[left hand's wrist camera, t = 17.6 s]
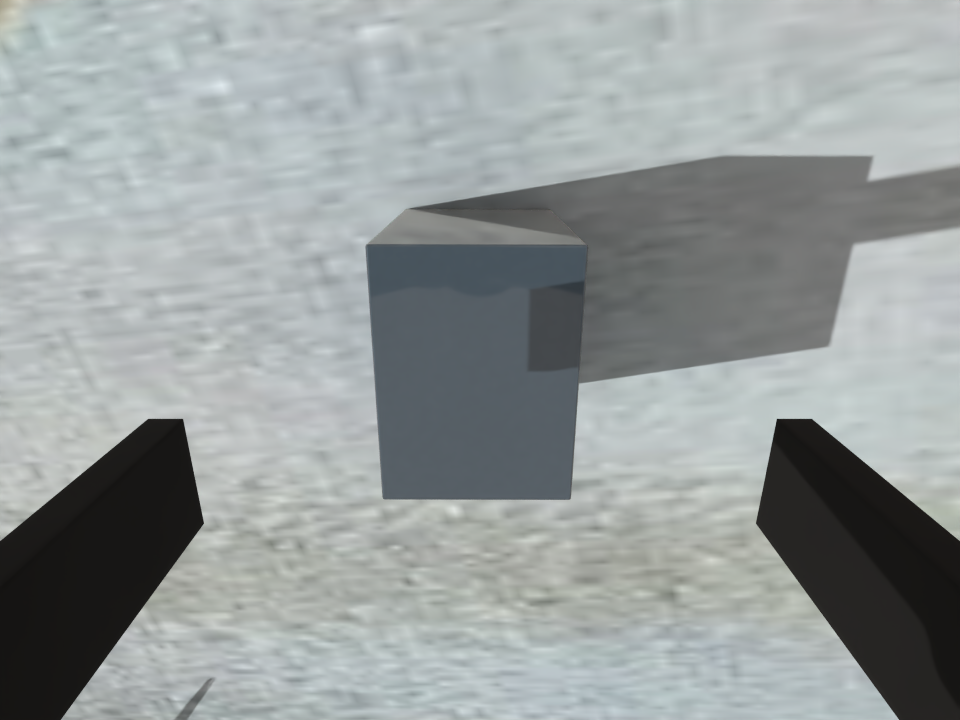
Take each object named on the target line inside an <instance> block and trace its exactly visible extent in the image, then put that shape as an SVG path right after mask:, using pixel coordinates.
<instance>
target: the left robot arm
mask: <svg viewBox="0 0 960 720" xmlns="http://www.w3.org/2000/svg"><path fill="white" fill-rule="evenodd" d="M203 524H204V521H203V516H202V511H201V506H200V501H199V497H198V492H197V487H196V482H195V477H194V472H193V467H192V462H191V457H190V452H189V447H188V442H187V437H186V432H185V427H184V422H183V419H148V420H146V421H145V422H144V423H143V424H142V425H140V426H139V427H138V428H137V429H136V430H134V431H133V432H132V433H131V434H129V435H128V436H127V437H126V438H125V439H123V440H122V441H121V442H120V443H119V444H117V445H116V446H115V447H114V448H113V449H111V450H110V451H109V452H108V453H106V454H105V455H104V456H103V457H102V458H100V459H99V460H98V461H97V462H96V463H94V464H93V465H92V466H91V467H90V468H88V469H87V470H86V471H85V472H83V473H82V474H81V475H80V476H79V477H77V478H76V479H75V480H74V481H73V482H71V483H70V484H69V485H68V486H67V487H65V488H64V489H63V490H62V491H60V492H59V493H58V494H57V495H56V496H54V497H53V498H52V499H51V500H50V501H48V502H47V503H46V504H45V505H43V506H42V507H41V508H40V509H39V510H37V511H36V512H35V513H34V514H33V515H31V516H30V517H29V518H28V519H27V520H25V521H24V522H23V523H22V524H20V525H19V526H18V527H17V528H16V529H14V530H13V531H12V532H11V533H10V534H8V535H7V536H6V537H5V538H4V539H2V540H1V541H0V720H61V719H62V717H63V716H64V715H65V713H66V712H67V710H68V709H69V708H70V706H71V705H72V704H73V702H74V701H75V699H76V698H77V697H78V695H79V694H80V693H81V691H82V690H83V688H84V687H85V686H86V684H87V683H88V682H89V680H90V679H91V678H92V676H93V675H94V673H95V672H96V671H97V669H98V668H99V667H100V665H101V664H102V662H103V661H104V660H105V658H106V657H107V656H108V654H109V653H110V651H111V650H112V649H113V647H114V646H115V645H116V643H117V642H118V641H119V639H120V638H121V636H122V635H123V634H124V632H125V631H126V630H127V628H128V627H129V625H130V624H131V623H132V621H133V620H134V619H135V617H136V616H137V614H138V613H139V612H140V610H141V609H142V608H143V606H144V605H145V604H146V602H147V601H148V599H149V598H150V597H151V595H152V594H153V593H154V591H155V590H156V588H157V587H158V586H159V584H160V583H161V582H162V580H163V579H164V577H165V576H166V575H167V573H168V572H169V571H170V569H171V568H172V567H173V565H174V564H175V562H176V561H177V560H178V558H179V557H180V556H181V554H182V553H183V551H184V550H185V549H186V547H187V546H188V545H189V543H190V542H191V540H192V539H193V538H194V536H195V535H196V534H197V532H198V531H199V530H200V528H201V527H202V525H203ZM756 524H757V525H758V527H759V528H760V530H761V531H762V532H763V534H764V535H765V536H766V538H767V539H768V540H769V542H770V543H771V545H772V546H773V547H774V549H775V550H776V551H777V553H778V554H779V556H780V557H781V558H782V560H783V561H784V562H785V564H786V565H787V567H788V568H789V569H790V571H791V572H792V573H793V575H794V576H795V577H796V579H797V580H798V582H799V583H800V584H801V586H802V587H803V588H804V590H805V591H806V593H807V594H808V595H809V597H810V598H811V599H812V601H813V602H814V604H815V605H816V606H817V608H818V609H819V610H820V612H821V613H822V614H823V616H824V617H825V619H826V620H827V621H828V623H829V624H830V625H831V627H832V628H833V630H834V631H835V632H836V634H837V635H838V636H839V638H840V639H841V641H842V642H843V643H844V645H845V646H846V647H847V649H848V650H849V651H850V653H851V654H852V656H853V657H854V658H855V660H856V661H857V662H858V664H859V665H860V667H861V668H862V669H863V671H864V672H865V673H866V675H867V676H868V678H869V679H870V680H871V682H872V683H873V684H874V686H875V687H876V688H877V690H878V691H879V693H880V694H881V695H882V697H883V698H884V699H885V701H886V702H887V704H888V705H889V706H890V708H891V709H892V710H893V712H894V713H895V715H896V716H897V717H898V719H899V720H960V541H959V540H958V539H956V538H955V537H954V536H953V535H952V534H950V533H949V532H948V531H947V530H946V529H944V528H943V527H942V526H941V525H940V524H938V523H937V522H936V521H935V520H933V519H932V518H931V517H930V516H929V515H927V514H926V513H925V512H924V511H923V510H921V509H920V508H919V507H918V506H917V505H915V504H914V503H913V502H912V501H910V500H909V499H908V498H907V497H906V496H904V495H903V494H902V493H901V492H900V491H898V490H897V489H896V488H895V487H893V486H892V485H891V484H890V483H889V482H887V481H886V480H885V479H884V478H883V477H881V476H880V475H879V474H878V473H877V472H875V471H874V470H873V469H872V468H870V467H869V466H868V465H867V464H866V463H864V462H863V461H862V460H861V459H860V458H858V457H857V456H856V455H855V454H854V453H852V452H851V451H850V450H849V449H847V448H846V447H845V446H844V445H843V444H841V443H840V442H839V441H838V440H837V439H835V438H834V437H833V436H832V435H831V434H829V433H828V432H827V431H826V430H824V429H823V428H822V427H821V426H820V425H818V424H817V423H816V422H815V421H814V420H812V419H777V422H776V427H775V432H774V437H773V442H772V447H771V452H770V457H769V462H768V467H767V472H766V477H765V482H764V487H763V492H762V496H761V501H760V506H759V511H758V516H757V521H756Z"/></svg>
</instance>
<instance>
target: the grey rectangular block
mask: <svg viewBox="0 0 960 720" xmlns="http://www.w3.org/2000/svg"><path fill="white" fill-rule="evenodd" d="M587 256H588V245H587V244H586V243H585V242H584V241H582V240H581V239H580V238H579V237H578V236H577V235H576V234H575V233H574V232H573V231H572V230H571V229H570V228H569V227H568V226H567V225H566V224H565V223H564V222H563V221H562V220H561V219H560V218H559V217H558V216H557V215H555V214H554V213H553V212H552V211H551V210H550V209H405V210H404V211H403V212H402V213H401V214H400V215H399V216H398V217H396V218H395V219H394V220H393V221H392V222H391V223H390V224H389V225H388V226H386V227H385V228H384V229H383V230H382V231H381V232H380V233H379V234H378V235H376V236H375V237H374V238H373V239H372V240H371V241H370V242H369V243H368V244H366V261H367V276H368V290H369V305H370V320H371V335H372V349H373V364H374V379H375V393H376V408H377V423H378V438H379V452H380V467H381V482H382V496H383V499H456V500H570V498H571V490H572V475H573V460H574V446H575V431H576V417H577V402H578V387H579V373H580V358H581V343H582V329H583V314H584V300H585V285H586V270H587Z"/></svg>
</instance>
